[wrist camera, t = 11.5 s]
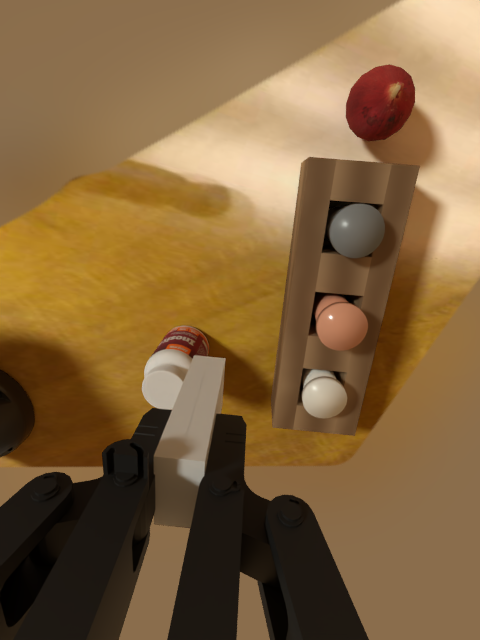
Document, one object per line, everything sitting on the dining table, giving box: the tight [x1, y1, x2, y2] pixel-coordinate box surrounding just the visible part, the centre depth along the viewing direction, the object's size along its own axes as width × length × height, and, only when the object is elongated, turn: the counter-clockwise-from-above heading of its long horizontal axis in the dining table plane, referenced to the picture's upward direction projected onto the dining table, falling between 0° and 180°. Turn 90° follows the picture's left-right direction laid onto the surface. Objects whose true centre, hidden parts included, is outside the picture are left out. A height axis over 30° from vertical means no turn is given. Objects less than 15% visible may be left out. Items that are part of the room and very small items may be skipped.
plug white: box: [301, 368, 347, 418], centre depth 41 cm, size 5×5×8 cm
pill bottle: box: [142, 326, 209, 410], centre depth 39 cm, size 6×6×11 cm
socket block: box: [271, 157, 420, 436], centre depth 39 cm, size 10×30×6 cm, turn 176°
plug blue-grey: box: [324, 204, 385, 258], centre depth 34 cm, size 5×5×8 cm
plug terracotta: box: [312, 292, 368, 351], centre depth 36 cm, size 5×5×8 cm
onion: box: [346, 65, 415, 141], centre depth 31 cm, size 6×6×8 cm
